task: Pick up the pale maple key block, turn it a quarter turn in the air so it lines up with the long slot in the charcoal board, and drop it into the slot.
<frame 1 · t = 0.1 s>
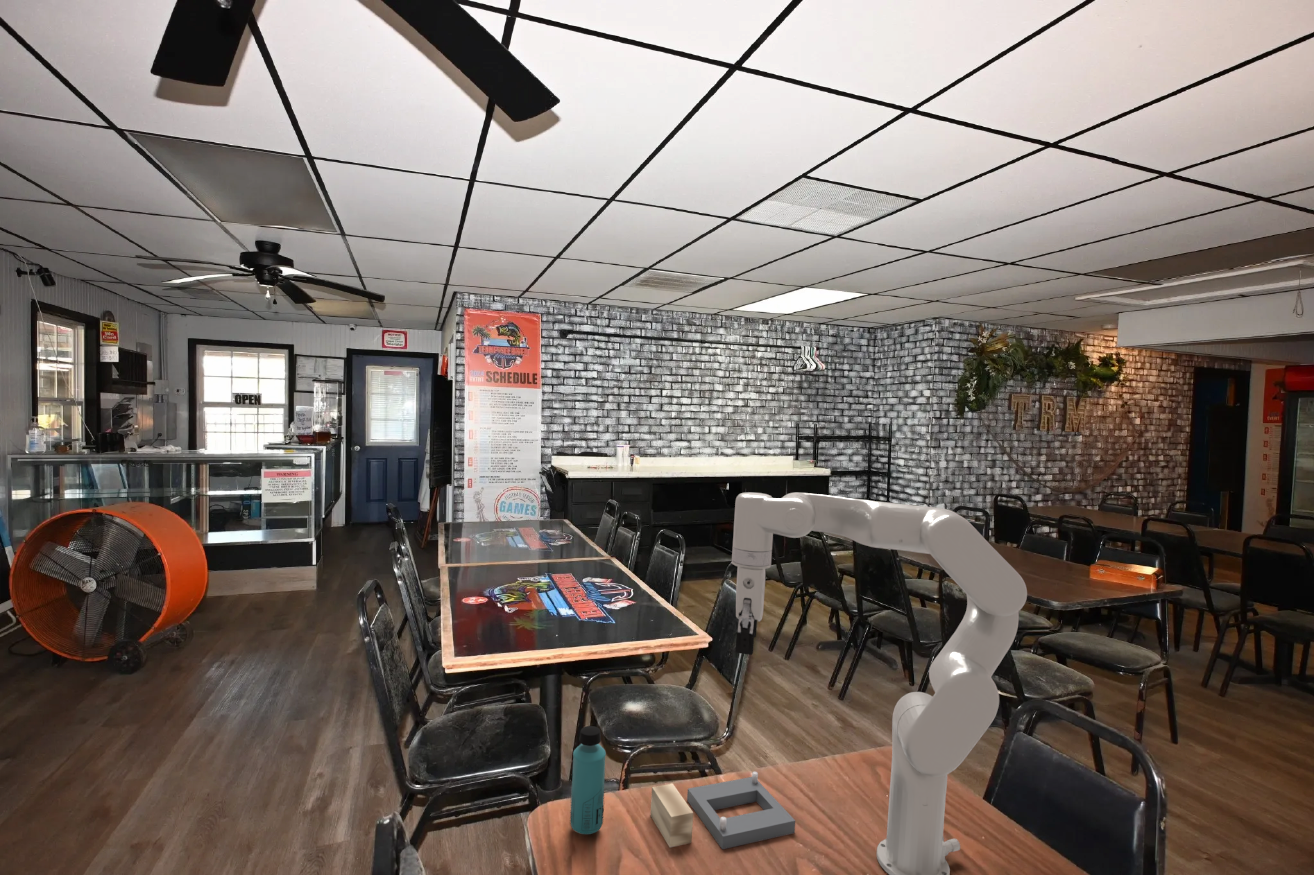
hand: (746, 644, 125), 37 cm above the table, tool pointing down, fingers open, 9 cm apart
slot board: (739, 816, 131), on the table
key block: (670, 829, 126), on the table
beverage bottle: (585, 832, 124), on the table
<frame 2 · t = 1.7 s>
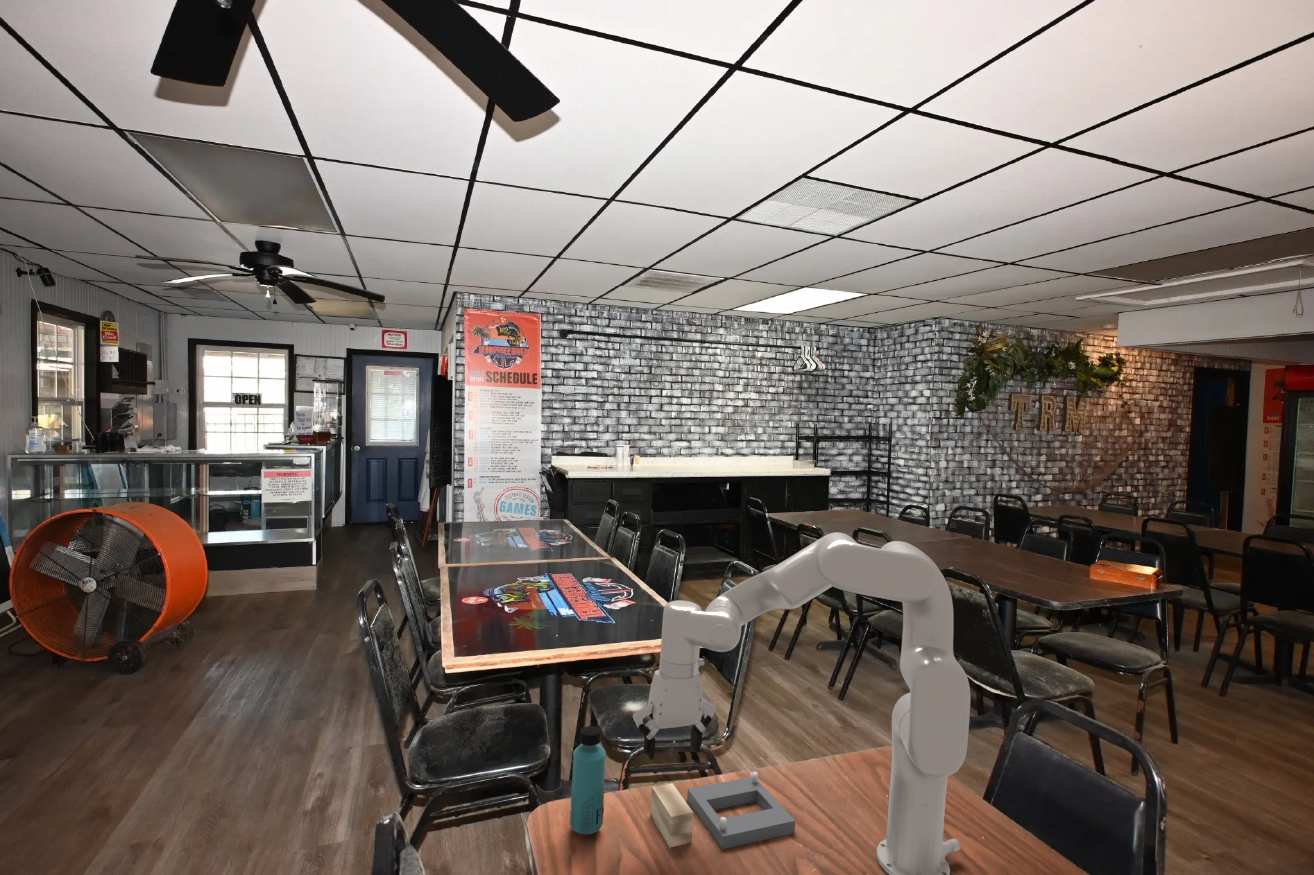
hand: (672, 752, 126), 15 cm above the table, tool pointing down, fingers open, 9 cm apart
nothing on the table moved.
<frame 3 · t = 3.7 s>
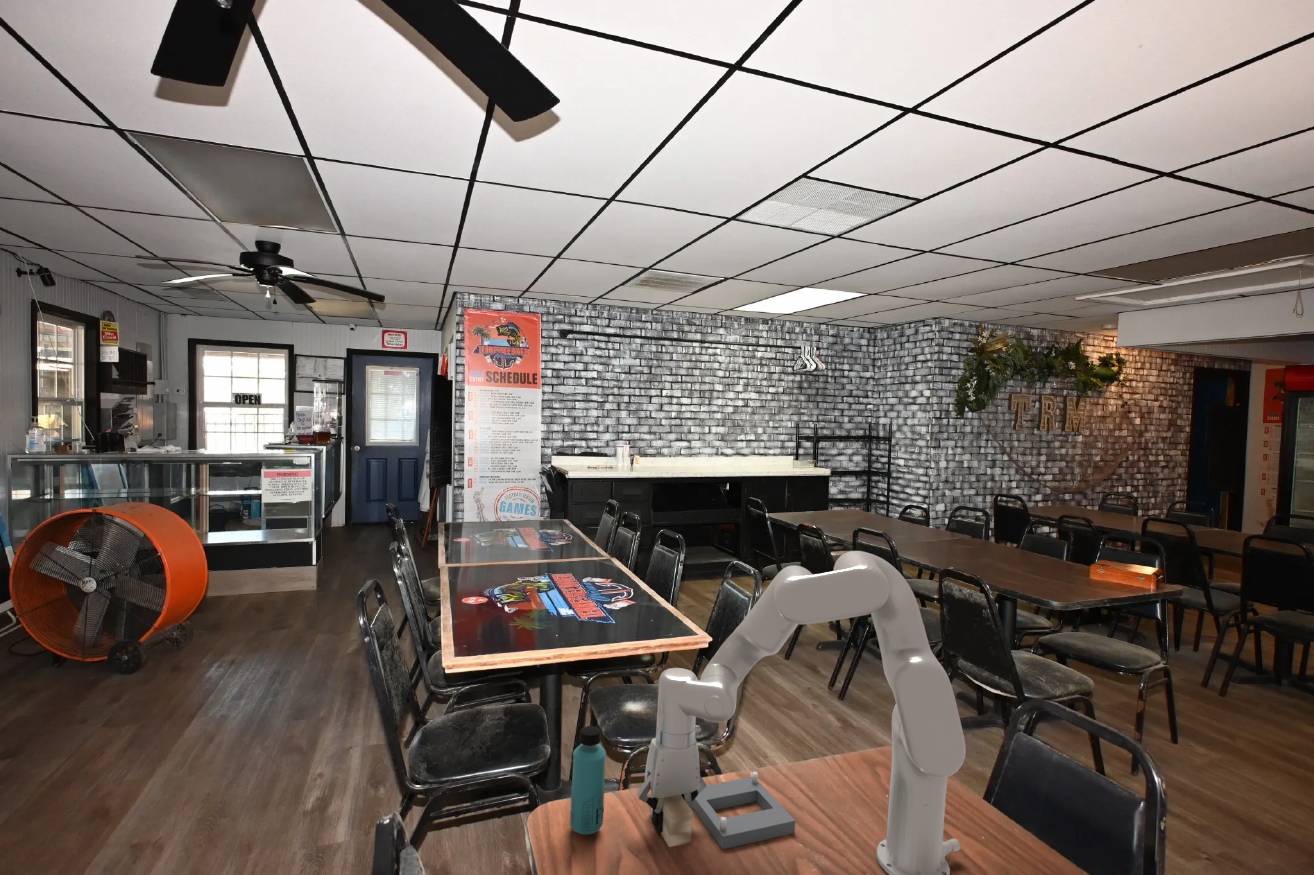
hand: (670, 825, 126), 1 cm above the table, tool pointing down, fingers closed on key block, 4 cm apart
key block: (669, 828, 126), on the table, touching gripper
everything else where it was.
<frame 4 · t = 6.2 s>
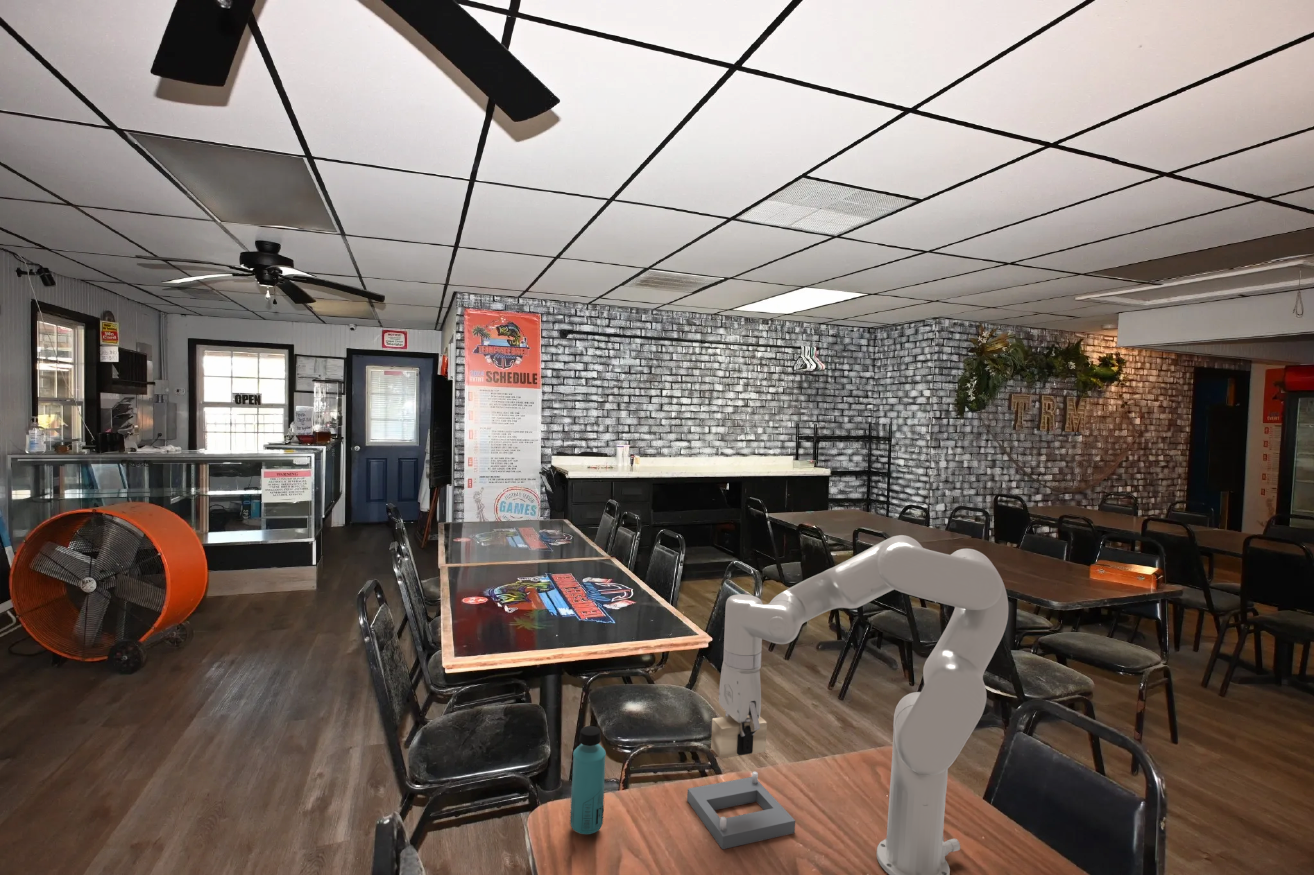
hand: (738, 746, 130), 15 cm above the table, tool pointing down, fingers closed on key block, 4 cm apart
key block: (738, 749, 130), point 14 cm above the table, touching gripper
everything else where it was.
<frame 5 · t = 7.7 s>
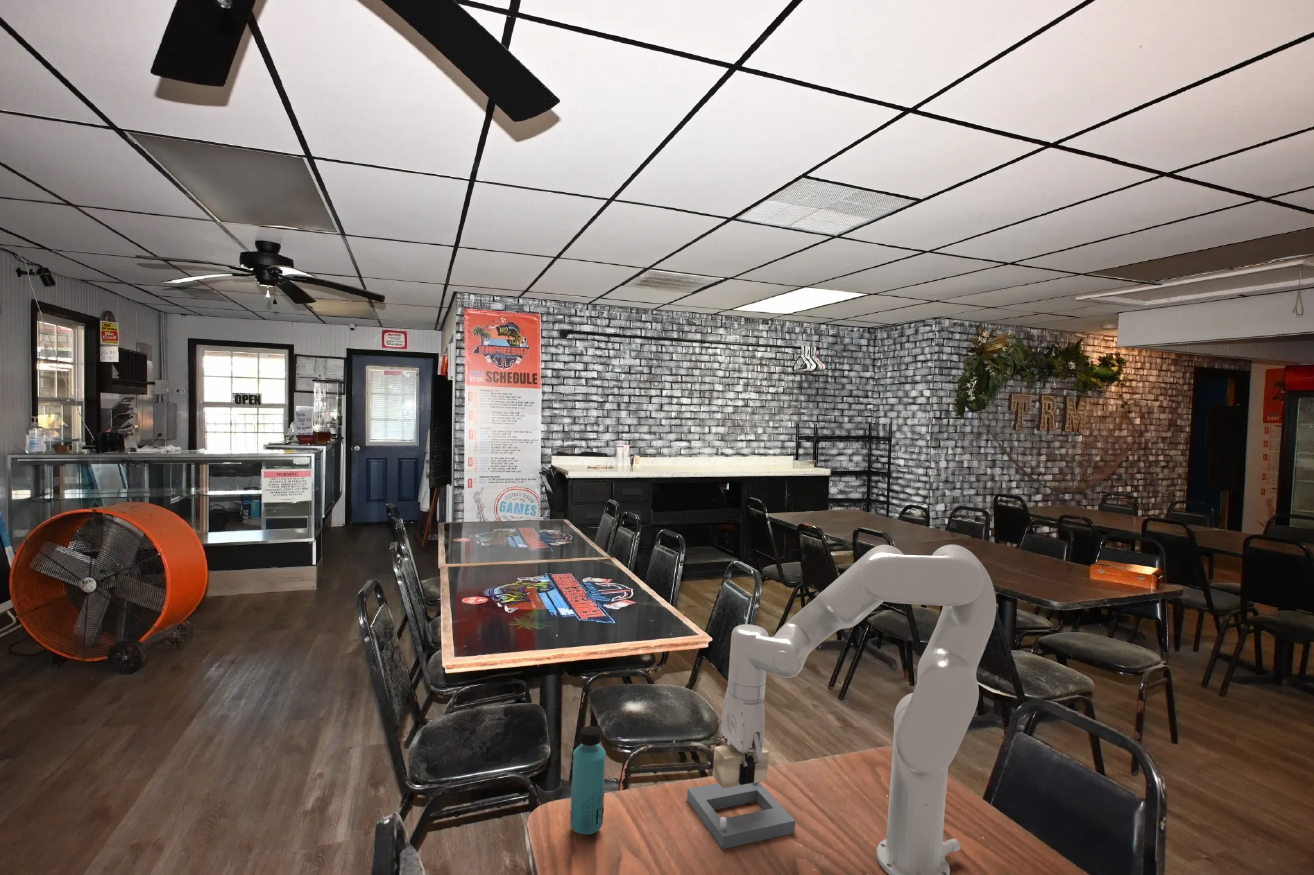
hand: (739, 775, 131), 8 cm above the table, tool pointing down, fingers closed on key block, 4 cm apart
key block: (739, 778, 131), point 8 cm above the table, touching gripper
everything else where it was.
when the fingers open (4 cm above the table, at t = 8.9 s): key block drops 3 cm, resting in slot board.
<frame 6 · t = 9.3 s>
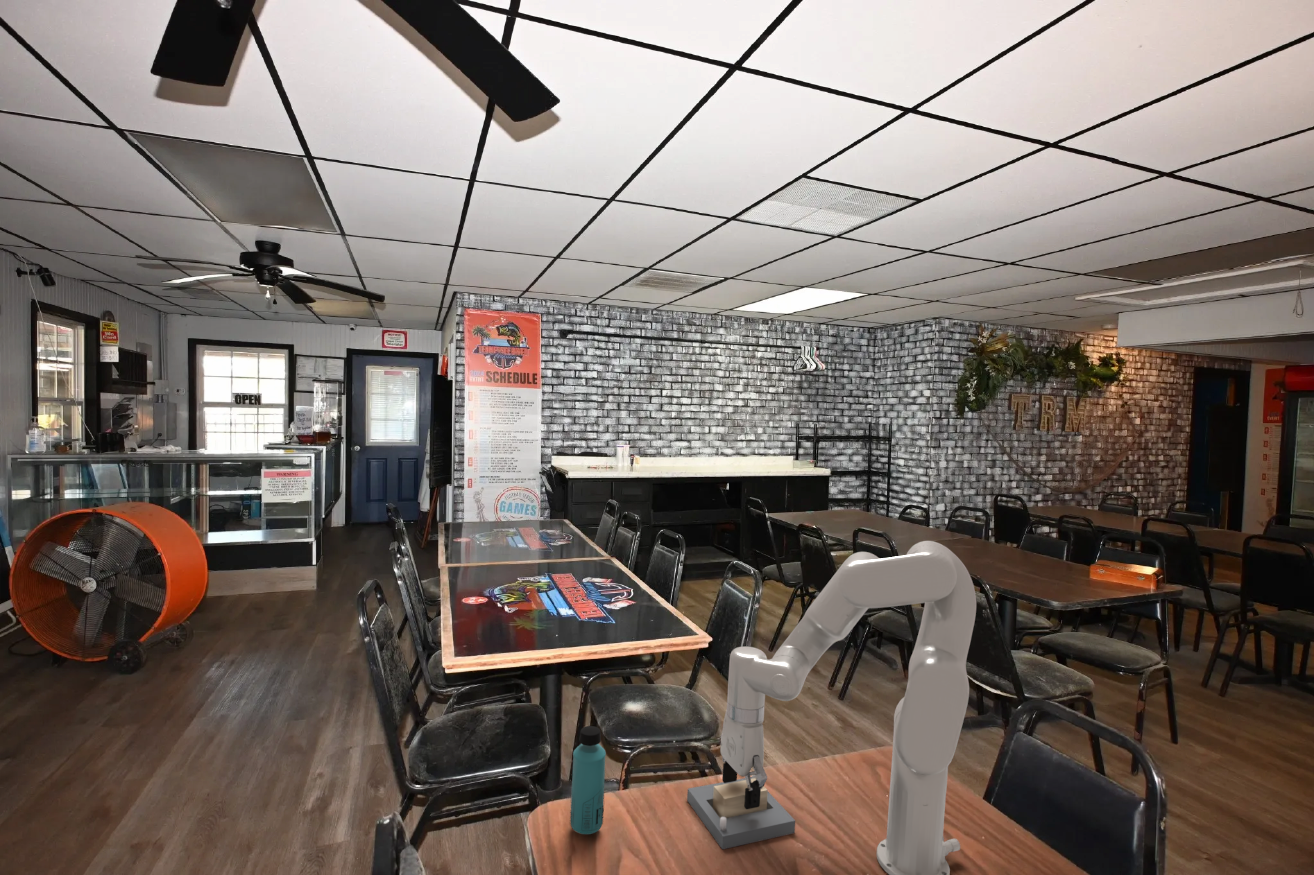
hand: (740, 793, 131), 5 cm above the table, tool pointing down, fingers open, 8 cm apart
key block: (739, 817, 131), resting in slot board
everything else where it was.
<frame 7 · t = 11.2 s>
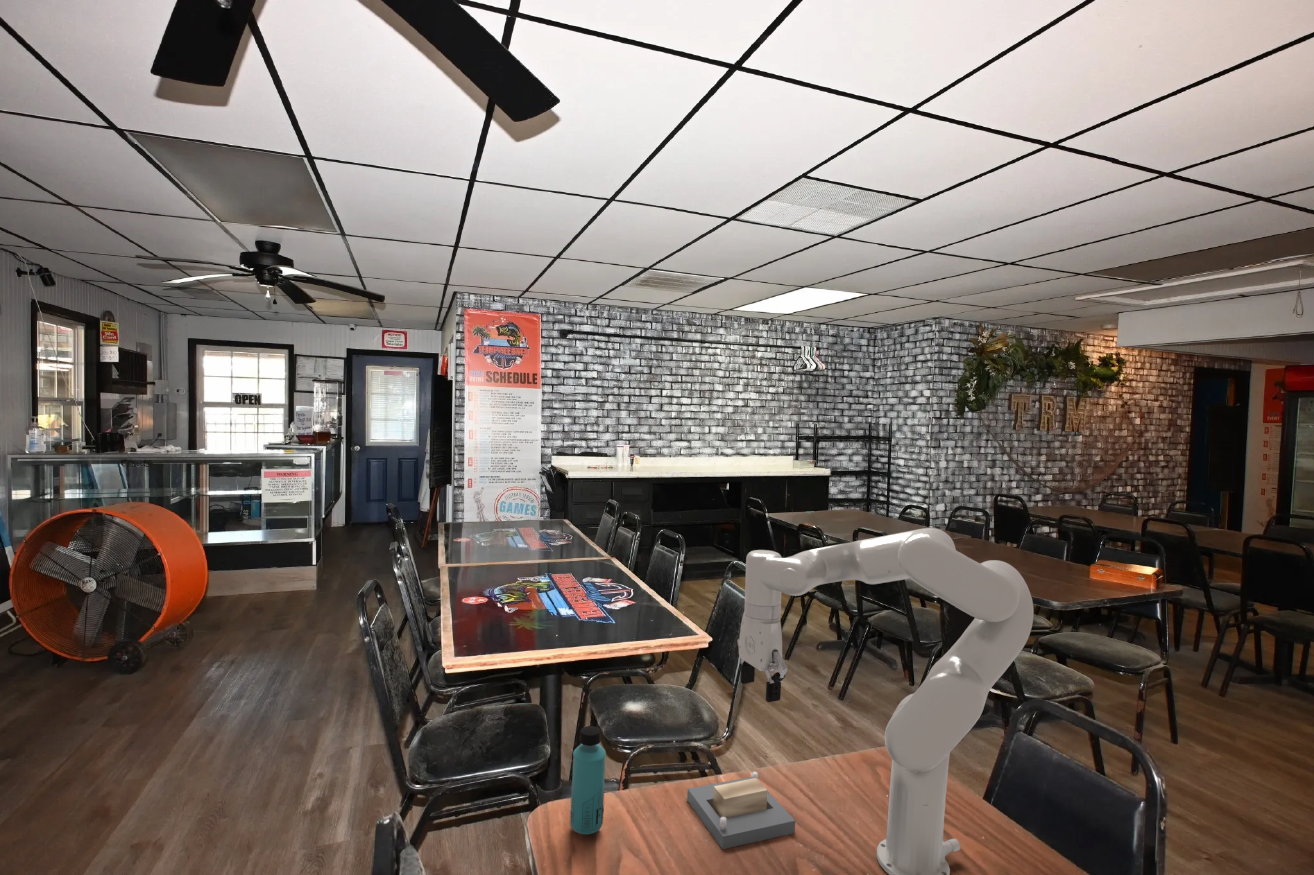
hand: (759, 691, 135), 24 cm above the table, tool pointing down, fingers open, 9 cm apart
nothing on the table moved.
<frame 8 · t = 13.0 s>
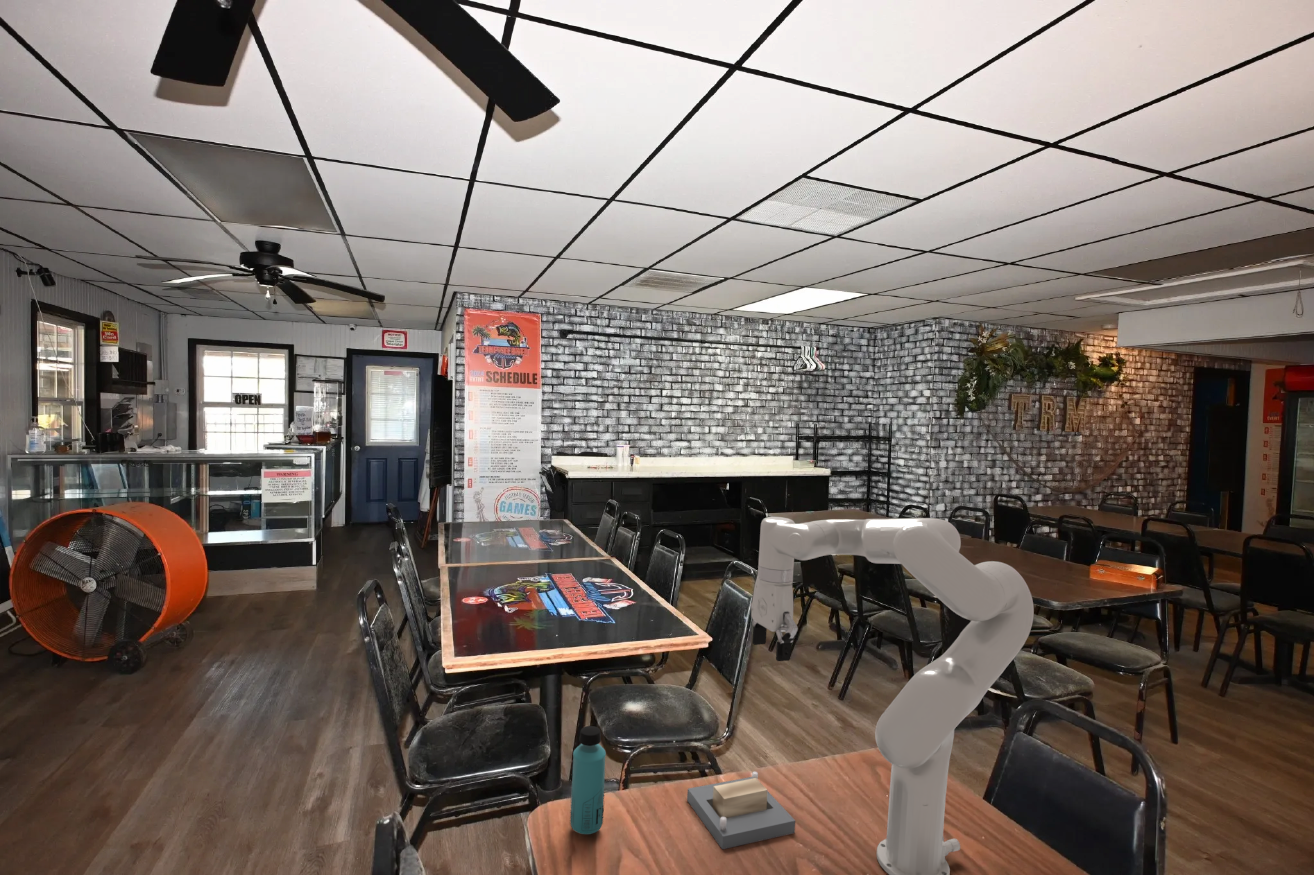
hand: (770, 652, 141), 30 cm above the table, tool pointing down, fingers open, 9 cm apart
nothing on the table moved.
at the end: key block 0.0 cm off-centre on the slot board, point 0.0 cm above the slot board's base; key block tilted 0°; the gripper is holding nothing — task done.
